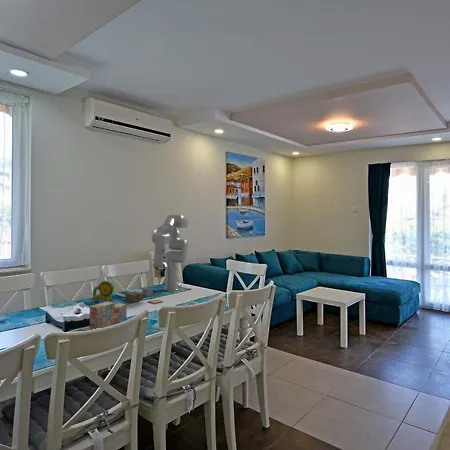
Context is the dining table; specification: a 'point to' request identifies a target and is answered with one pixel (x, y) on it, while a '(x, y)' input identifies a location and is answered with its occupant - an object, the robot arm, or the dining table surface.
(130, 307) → the dining table surface
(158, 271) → the honey cube
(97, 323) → the stack of blocks
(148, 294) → the grey cube
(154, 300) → the mat
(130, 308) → the dining table surface
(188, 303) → the dining table surface
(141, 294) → the walnut block
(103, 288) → the toy lion
